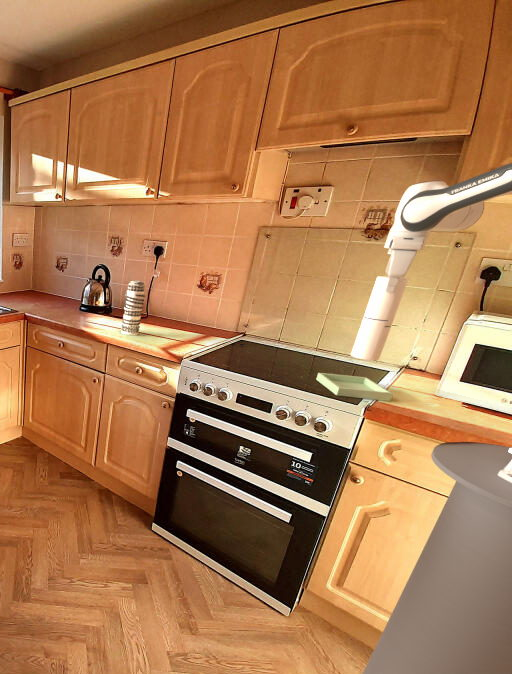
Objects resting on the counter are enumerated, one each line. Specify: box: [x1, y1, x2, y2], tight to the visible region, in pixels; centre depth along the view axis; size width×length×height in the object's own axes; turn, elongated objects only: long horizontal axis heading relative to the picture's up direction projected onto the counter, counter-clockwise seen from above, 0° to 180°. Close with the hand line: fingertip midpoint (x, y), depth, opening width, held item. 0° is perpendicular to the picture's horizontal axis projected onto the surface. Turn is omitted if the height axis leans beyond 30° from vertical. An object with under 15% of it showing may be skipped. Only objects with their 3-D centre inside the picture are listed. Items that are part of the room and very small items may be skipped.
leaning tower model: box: [120, 279, 146, 336], centre depth 203 cm, size 9×9×25 cm
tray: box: [315, 372, 394, 402], centre depth 140 cm, size 16×15×3 cm
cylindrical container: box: [350, 275, 409, 362], centre depth 131 cm, size 7×7×25 cm
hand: (388, 290), depth 128 cm, fingers closed on cylindrical container, 7 cm apart
